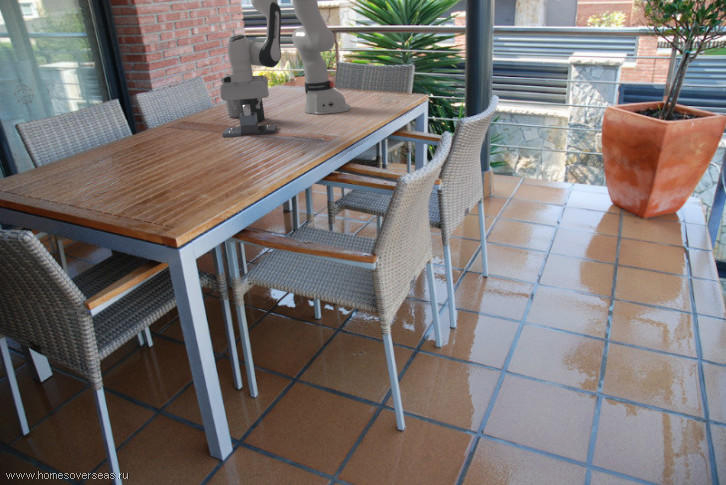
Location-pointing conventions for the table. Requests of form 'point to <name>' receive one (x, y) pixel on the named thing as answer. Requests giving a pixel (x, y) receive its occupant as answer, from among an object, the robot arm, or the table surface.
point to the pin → (246, 109)
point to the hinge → (249, 127)
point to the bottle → (254, 107)
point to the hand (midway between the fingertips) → (247, 109)
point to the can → (231, 111)
